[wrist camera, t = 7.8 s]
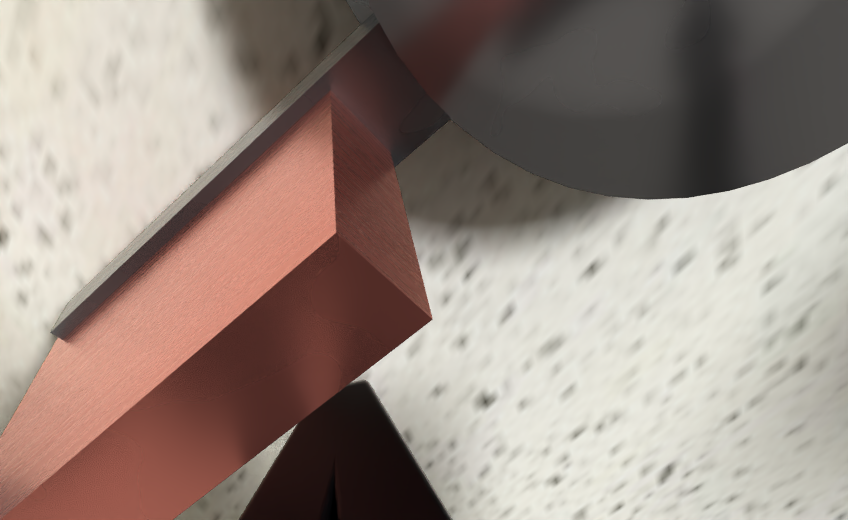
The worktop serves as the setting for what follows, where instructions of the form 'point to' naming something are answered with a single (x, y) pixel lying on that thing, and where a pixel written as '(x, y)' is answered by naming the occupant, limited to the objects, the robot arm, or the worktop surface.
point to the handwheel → (390, 219)
